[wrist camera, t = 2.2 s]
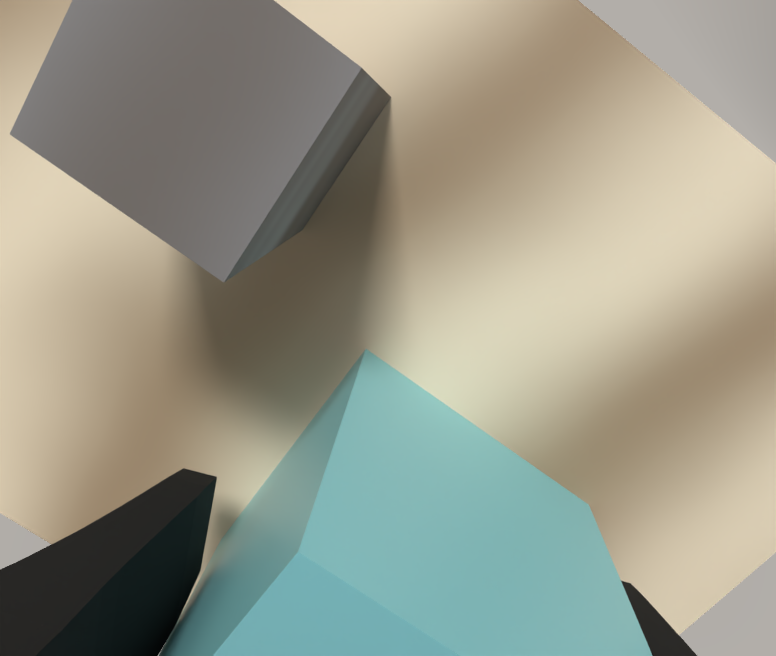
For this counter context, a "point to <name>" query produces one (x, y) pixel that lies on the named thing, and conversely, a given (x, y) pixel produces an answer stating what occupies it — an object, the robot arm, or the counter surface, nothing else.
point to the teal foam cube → (407, 545)
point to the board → (383, 260)
